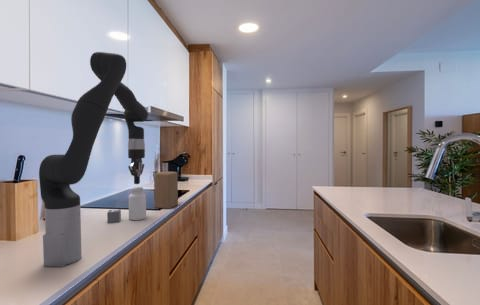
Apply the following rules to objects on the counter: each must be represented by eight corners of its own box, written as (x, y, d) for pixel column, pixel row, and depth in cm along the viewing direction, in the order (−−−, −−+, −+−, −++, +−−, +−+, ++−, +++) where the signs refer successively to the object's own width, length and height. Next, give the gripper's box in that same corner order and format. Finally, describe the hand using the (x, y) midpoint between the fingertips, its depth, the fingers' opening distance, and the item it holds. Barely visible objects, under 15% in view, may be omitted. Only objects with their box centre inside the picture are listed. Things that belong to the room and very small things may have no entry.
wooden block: (153, 208, 148) (153, 173, 147) (163, 204, 158) (163, 171, 157) (169, 209, 145) (168, 173, 145) (178, 205, 155) (178, 171, 154)
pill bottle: (131, 221, 122) (131, 189, 122) (126, 218, 128) (126, 187, 128) (148, 218, 127) (148, 188, 127) (143, 215, 133) (142, 186, 133)
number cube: (119, 222, 122) (119, 211, 121) (107, 223, 120) (107, 212, 120) (120, 219, 126) (120, 208, 126) (109, 220, 125) (109, 209, 125)
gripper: (138, 148, 120) (138, 186, 120) (149, 148, 133) (149, 182, 134) (122, 148, 120) (122, 186, 121) (135, 148, 133) (135, 181, 134)
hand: (137, 183), depth 127 cm, fingers closed
